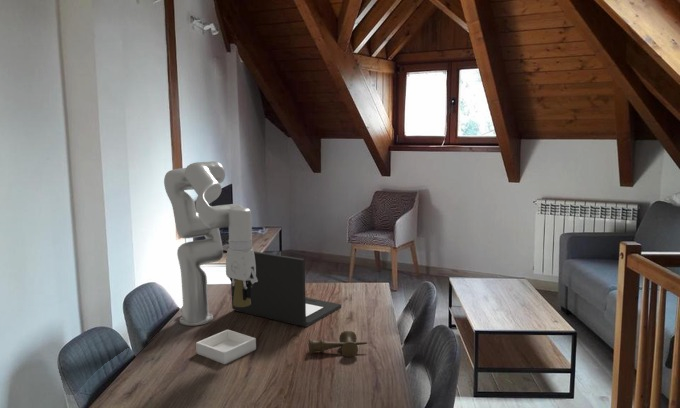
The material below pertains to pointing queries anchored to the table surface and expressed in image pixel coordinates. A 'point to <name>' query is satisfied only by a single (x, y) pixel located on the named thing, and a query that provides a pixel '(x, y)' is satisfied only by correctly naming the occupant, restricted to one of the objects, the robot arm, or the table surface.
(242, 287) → the cork
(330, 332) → the table surface
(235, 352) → the box
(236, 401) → the table surface
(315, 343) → the kendama
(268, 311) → the laptop
